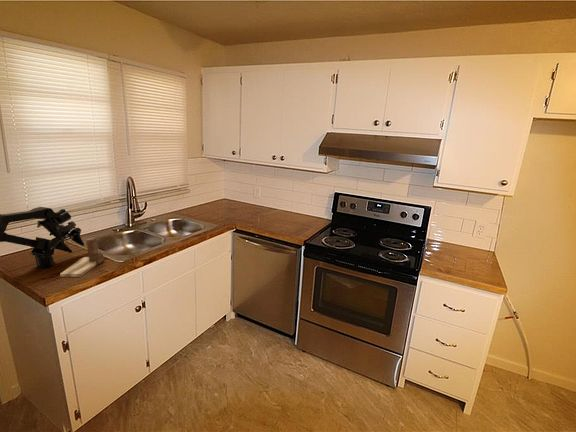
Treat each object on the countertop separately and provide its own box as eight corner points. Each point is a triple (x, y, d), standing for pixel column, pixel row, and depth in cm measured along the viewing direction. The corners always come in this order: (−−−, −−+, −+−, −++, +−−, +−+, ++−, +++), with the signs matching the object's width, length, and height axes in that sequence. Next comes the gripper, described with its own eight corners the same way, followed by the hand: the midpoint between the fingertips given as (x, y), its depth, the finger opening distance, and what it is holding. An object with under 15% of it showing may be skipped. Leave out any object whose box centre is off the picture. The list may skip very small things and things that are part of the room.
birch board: (60, 276, 153) (59, 273, 153) (83, 259, 172) (83, 256, 172) (81, 276, 154) (81, 273, 153) (102, 259, 173) (102, 257, 173)
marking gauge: (87, 264, 166) (83, 240, 163) (92, 260, 171) (89, 237, 167) (99, 264, 167) (95, 240, 163) (103, 260, 172) (100, 237, 168)
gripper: (48, 223, 153) (74, 246, 156) (75, 213, 171) (97, 233, 174) (36, 238, 156) (61, 259, 159) (64, 226, 174) (86, 245, 176)
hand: (77, 248), depth 167 cm, fingers open, 9 cm apart
